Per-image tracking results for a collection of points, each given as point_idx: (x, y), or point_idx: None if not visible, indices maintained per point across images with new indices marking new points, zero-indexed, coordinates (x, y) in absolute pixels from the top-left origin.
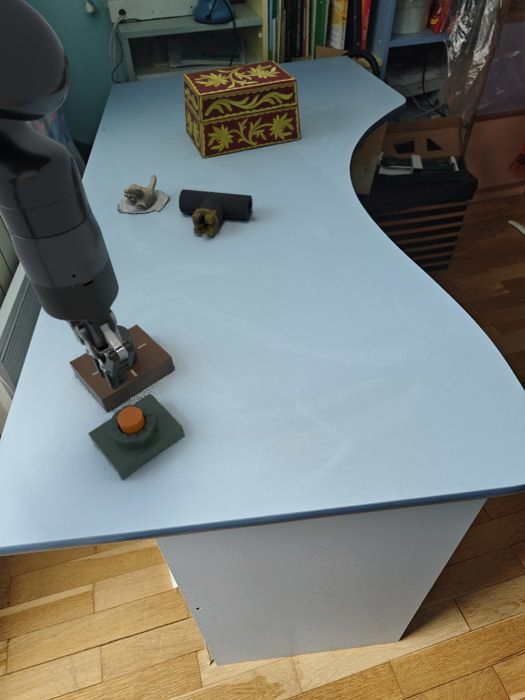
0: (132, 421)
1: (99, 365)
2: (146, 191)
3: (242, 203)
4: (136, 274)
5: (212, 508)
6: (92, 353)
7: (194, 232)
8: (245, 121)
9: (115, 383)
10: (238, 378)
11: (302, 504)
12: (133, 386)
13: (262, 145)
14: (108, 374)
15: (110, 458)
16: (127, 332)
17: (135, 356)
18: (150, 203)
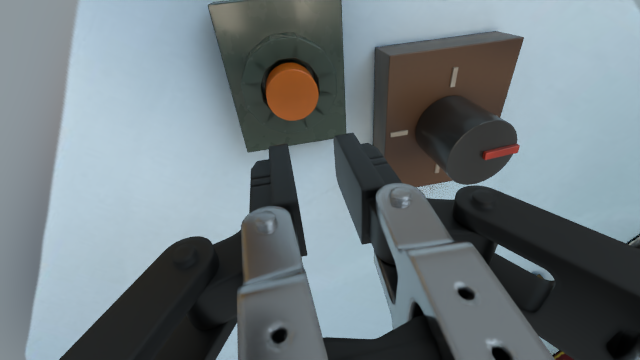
0: (276, 95)
1: (349, 170)
2: None
3: None
4: (562, 196)
5: (87, 118)
6: (238, 337)
7: (540, 275)
8: None
9: (252, 178)
10: None
11: (55, 220)
12: (381, 117)
13: (561, 352)
14: (184, 246)
15: (250, 5)
16: (464, 181)
17: (425, 152)
18: None
